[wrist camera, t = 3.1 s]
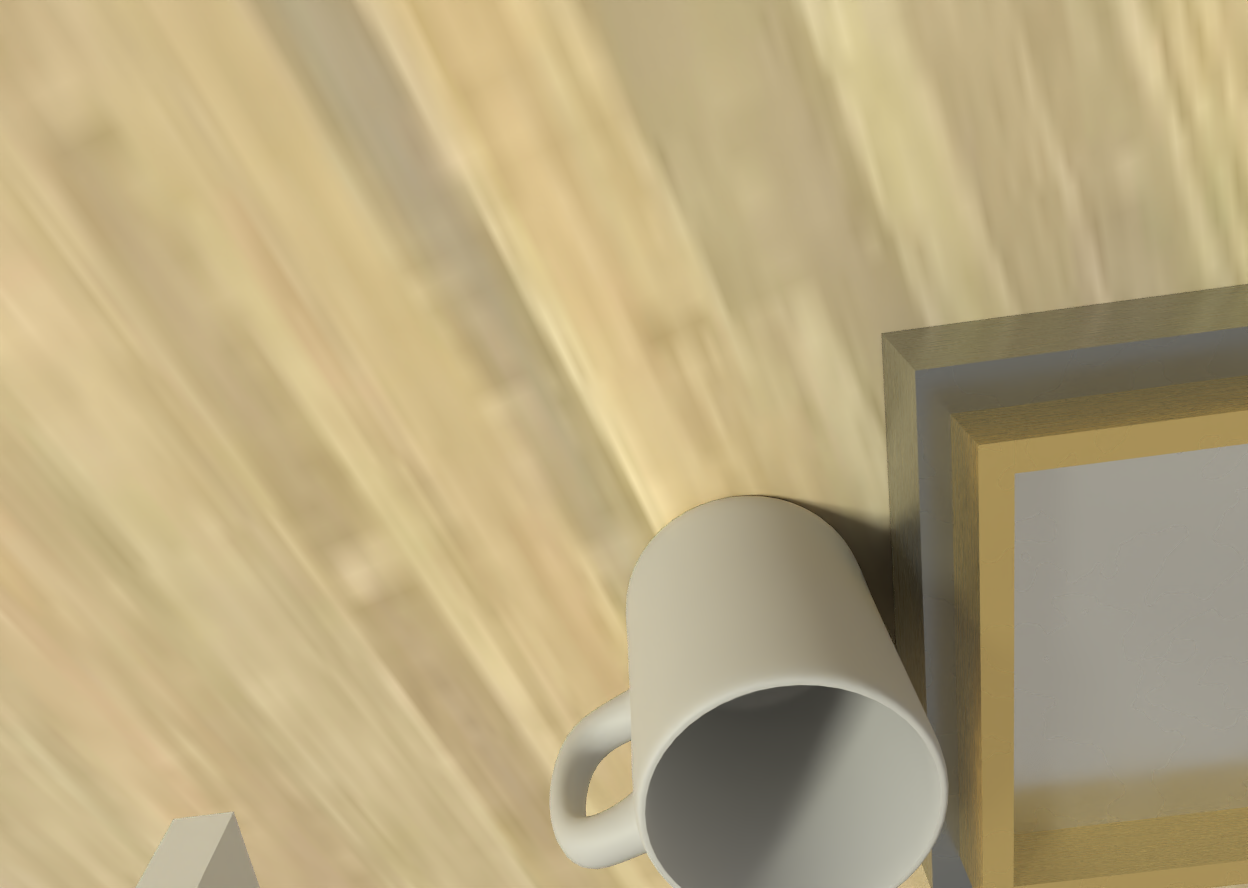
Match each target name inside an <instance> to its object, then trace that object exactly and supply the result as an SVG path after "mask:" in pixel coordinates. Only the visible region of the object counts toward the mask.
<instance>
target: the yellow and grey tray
mask: <svg viewBox="0 0 1248 888" xmlns="http://www.w3.org/2000/svg"><path fill="white" fill-rule="evenodd" d="M882 351H883V372H884V394H885V416H886V437H887V459H888V480H889V502H890V524H891V545H892V567H893V589H894V610H895V632H896V651H897V653H898V655H899V657H900V659H901V662H902V664H903V666H904V668H905V670H906V672H907V675H908V677H909V679H910V681H911V683H912V685H913V688H914V690H915V692H916V694H917V696H918V698H919V701H920V703H921V705H922V707H923V709H924V711H925V713H926V716H927V718H928V720H929V722H930V724H931V726H932V729H933V731H934V733H935V735H936V737H937V740H938V742H939V745H940V747H941V751H942V754H943V757H944V760H945V764H946V768H947V776H948V783H949V787H948V805H947V811H946V816H945V820H944V823H943V826H942V829H941V831H940V834H939V837H938V838H937V840H936V842H935V844H934V846H933V848H932V849H931V851H930V853H929V854H928V855H927V857H926V858H925V859H924V861H923V862H922V865H923V868H924V871H925V873H926V876H927V879H928V881H929V884H930V887H931V888H1211V887H1220V886H1229V885H1237V884H1246V883H1248V284H1246V285H1238V286H1231V287H1223V288H1216V289H1209V290H1201V291H1194V292H1186V293H1179V294H1171V295H1164V296H1156V297H1149V298H1142V299H1134V300H1127V301H1119V302H1112V303H1104V304H1097V305H1090V306H1082V307H1075V308H1067V309H1060V310H1052V311H1045V312H1037V313H1030V314H1023V315H1015V316H1008V317H1000V318H993V319H985V320H978V321H970V322H963V323H956V324H948V325H941V326H933V327H926V328H918V329H911V330H904V331H896V332H889V333H882Z"/></svg>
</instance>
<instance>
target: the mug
mask: <svg viewBox="0 0 1248 888" xmlns="http://www.w3.org/2000/svg"><path fill="white" fill-rule="evenodd" d="M626 625H627V638H628V660H629V683H630V689H628V690H627V691H625V692H623V693H622V694H620V695H618V696H616V697H615V698H613V699H611V700H610V701H608V702H606V703H605V704H603V705H601V706H600V707H598V708H597V709H595V710H594V711H592V712H591V713H589V714H588V715H587V716H585V717H584V718H583V719H582V720H581V721H580V722H579V723H578V724H577V725H576V726H574V728H573V729H572V730H571V732H570V733H569V734H568V736H567V737H566V739H565V741H564V743H563V745H562V747H561V749H560V751H559V754H558V757H557V760H556V763H555V767H554V771H553V775H552V780H551V788H550V814H551V822H552V826H553V830H554V833H555V836H556V840H557V842H558V843H559V845H560V847H561V848H562V850H563V851H564V853H565V854H566V856H567V857H568V858H569V859H570V860H571V861H572V862H574V863H576V864H577V865H579V866H581V867H585V868H592V869H600V868H606V867H610V866H613V865H616V864H619V863H622V862H624V861H627V860H630V859H632V858H635V857H637V856H639V855H642V854H644V853H647V855H648V857H649V858H650V860H651V861H652V863H653V864H654V866H655V868H656V869H657V871H658V872H659V873H660V874H661V875H662V877H663V878H664V879H665V880H666V881H667V882H668V883H669V884H670V885H671V886H672V887H673V888H897V887H898V886H900V885H901V884H902V883H903V882H904V881H906V880H907V879H908V878H909V877H910V876H911V875H912V874H913V872H914V871H915V870H916V869H917V868H918V867H919V866H920V865H921V864H922V862H923V861H924V859H925V858H926V857H927V855H928V854H929V853H930V851H931V849H932V848H933V846H934V844H935V842H936V840H937V838H938V837H939V834H940V831H941V829H942V826H943V823H944V820H945V816H946V811H947V805H948V787H949V783H948V776H947V768H946V764H945V760H944V757H943V754H942V751H941V747H940V745H939V742H938V740H937V737H936V735H935V733H934V731H933V729H932V726H931V724H930V722H929V720H928V718H927V716H926V713H925V711H924V709H923V707H922V705H921V703H920V701H919V698H918V696H917V694H916V692H915V690H914V688H913V685H912V683H911V681H910V679H909V677H908V675H907V672H906V670H905V668H904V666H903V664H902V662H901V659H900V657H899V655H898V653H897V651H896V649H895V646H894V644H893V642H892V640H891V638H890V636H889V634H888V631H887V629H886V627H885V625H884V623H883V621H882V618H881V616H880V614H879V612H878V610H877V607H876V605H875V603H874V601H873V598H872V596H871V593H870V591H869V589H868V586H867V584H866V581H865V579H864V576H863V574H862V571H861V569H860V567H859V565H858V563H857V561H856V559H855V557H854V555H853V553H852V551H851V550H850V548H849V547H848V545H847V544H846V542H845V541H844V540H843V538H842V537H841V536H840V535H839V534H838V533H837V532H836V531H835V529H834V528H833V527H831V526H830V525H829V524H828V523H826V522H825V521H824V520H823V519H821V518H820V517H819V516H817V515H816V514H814V513H812V512H811V511H809V510H807V509H805V508H803V507H801V506H798V505H796V504H794V503H791V502H788V501H784V500H781V499H777V498H771V497H764V496H736V497H728V498H723V499H718V500H714V501H711V502H708V503H705V504H702V505H699V506H697V507H695V508H693V509H691V510H689V511H686V512H685V513H683V514H682V515H680V516H678V517H677V518H675V519H674V520H672V521H671V522H670V523H668V524H667V525H666V526H665V527H664V528H662V529H661V530H660V531H659V532H658V533H657V534H656V535H655V537H654V538H653V539H652V540H651V541H650V542H649V544H648V545H647V546H646V548H645V549H644V551H643V552H642V554H641V556H640V558H639V560H638V561H637V563H636V565H635V567H634V570H633V573H632V576H631V578H630V581H629V586H628V591H627V601H626ZM629 741H631V749H632V780H633V792H632V793H631V794H629V795H628V796H627V797H626V798H624V799H623V800H622V801H620V802H619V803H617V804H616V805H614V806H612V807H611V808H609V809H607V810H605V811H603V812H601V813H599V814H596V815H593V816H586V797H587V791H588V787H589V783H590V780H591V777H592V775H593V773H594V771H595V769H596V767H597V766H598V764H599V763H600V762H601V760H602V759H603V758H604V757H605V756H607V755H608V754H609V753H610V752H611V751H613V750H614V749H616V748H617V747H619V746H621V745H623V744H624V743H627V742H629Z"/></svg>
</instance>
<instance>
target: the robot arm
mask: <svg viewBox="0 0 1248 888" xmlns="http://www.w3.org/2000/svg"><path fill="white" fill-rule="evenodd" d="M136 888H260V887H259V884H258V881H257V878H256V875H255V872H254V869H253V866H252V864H251V861H250V858H249V855H248V852H247V849H246V846H245V843H244V840H243V837H242V835H241V832H240V829H239V826H238V823H237V820H236V817H235V814H234V812H227V813H219V814H211V815H202V816H194V817H186V818H178V819H173V821H172V823H171V824H170V826H169V828H168V830H167V832H166V833H165V835H164V837H163V839H162V841H161V842H160V844H159V846H158V848H157V850H156V851H155V853H154V855H153V857H152V859H151V861H150V862H149V864H148V866H147V868H146V870H145V871H144V873H143V875H142V877H141V879H140V880H139V882H138V884H137V886H136Z"/></svg>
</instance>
